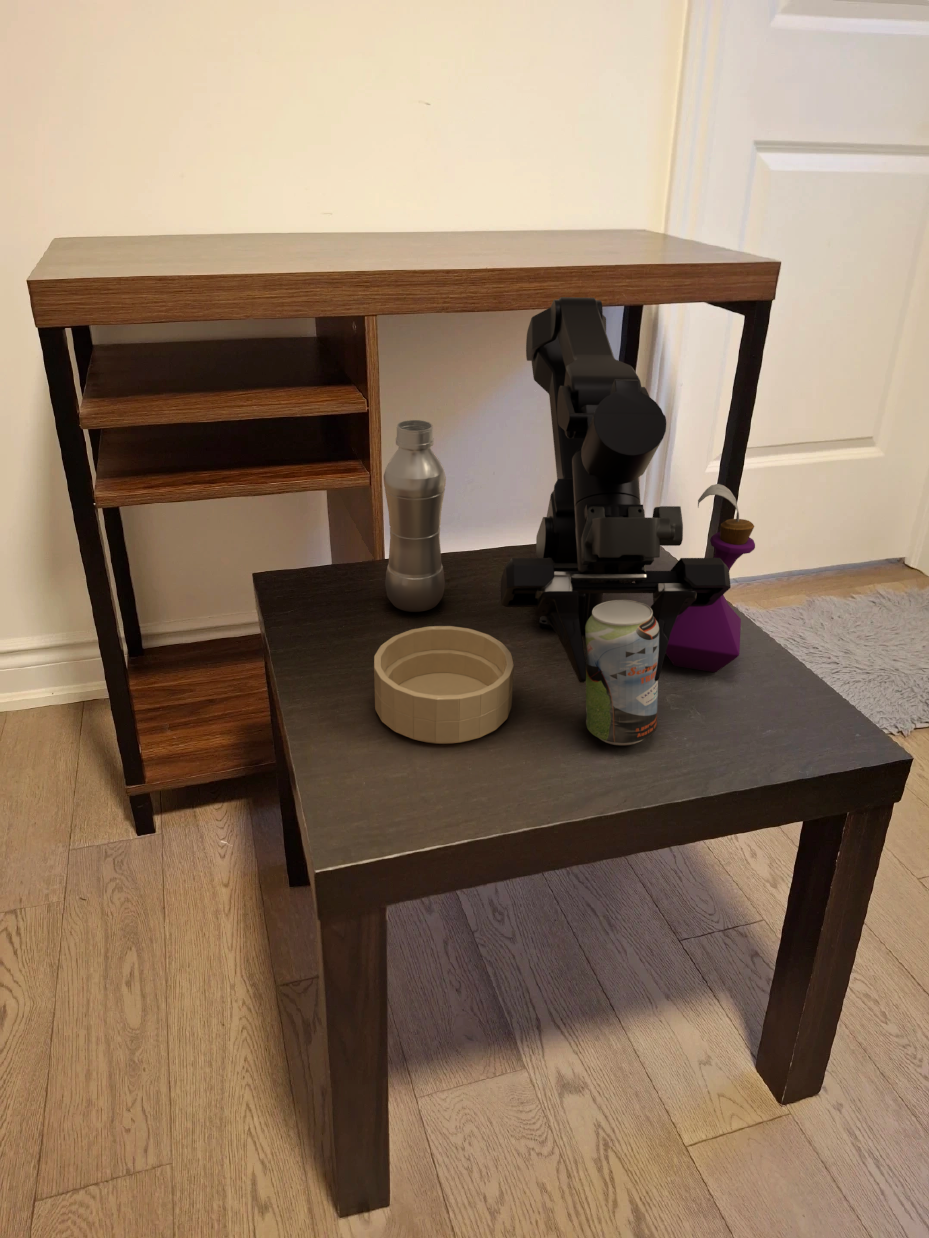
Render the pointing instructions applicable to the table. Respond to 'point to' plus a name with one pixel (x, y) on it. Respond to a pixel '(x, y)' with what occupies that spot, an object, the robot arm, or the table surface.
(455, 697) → the bowl
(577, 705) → the table surface
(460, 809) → the table surface
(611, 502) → the robot arm
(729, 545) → the purple corked potion flask
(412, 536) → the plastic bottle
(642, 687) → the beverage can
